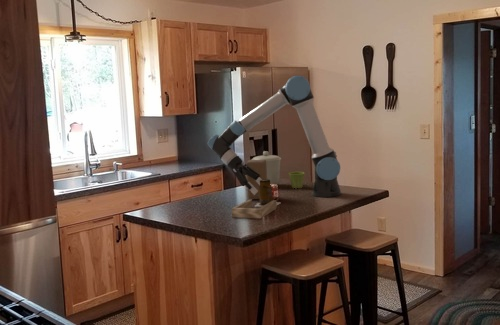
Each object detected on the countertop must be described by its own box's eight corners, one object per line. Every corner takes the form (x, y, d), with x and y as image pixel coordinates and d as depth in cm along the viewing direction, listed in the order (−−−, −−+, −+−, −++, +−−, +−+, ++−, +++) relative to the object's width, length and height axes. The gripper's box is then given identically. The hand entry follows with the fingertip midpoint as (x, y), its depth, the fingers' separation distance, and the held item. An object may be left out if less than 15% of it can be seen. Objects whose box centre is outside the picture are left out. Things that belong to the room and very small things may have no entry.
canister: (246, 187, 312) (244, 152, 309) (266, 182, 325) (264, 149, 322) (269, 189, 300) (267, 153, 297) (288, 184, 313) (287, 149, 310)
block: (268, 195, 282) (266, 159, 279) (266, 199, 272) (265, 161, 269) (249, 196, 283) (247, 159, 280) (247, 199, 273) (245, 162, 270)
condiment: (269, 201, 262) (268, 178, 260) (277, 204, 254) (275, 180, 253) (256, 203, 259) (254, 180, 257) (263, 206, 251) (262, 182, 250)
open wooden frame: (276, 208, 248) (276, 200, 248) (260, 218, 230) (260, 209, 229) (249, 207, 254) (249, 199, 253) (232, 217, 235) (231, 208, 235)
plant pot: (307, 186, 303) (306, 171, 302) (302, 189, 295) (301, 174, 294) (292, 186, 307) (291, 171, 306) (286, 189, 298) (286, 174, 297)
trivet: (280, 203, 260) (280, 202, 260) (273, 207, 251) (273, 206, 250) (262, 202, 264) (261, 201, 264) (254, 206, 254) (254, 205, 254)
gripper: (237, 162, 274) (265, 191, 270) (216, 169, 251) (246, 200, 247) (246, 152, 271) (274, 181, 267) (226, 158, 248) (256, 189, 244)
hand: (261, 190), depth 257 cm, fingers open, 13 cm apart
